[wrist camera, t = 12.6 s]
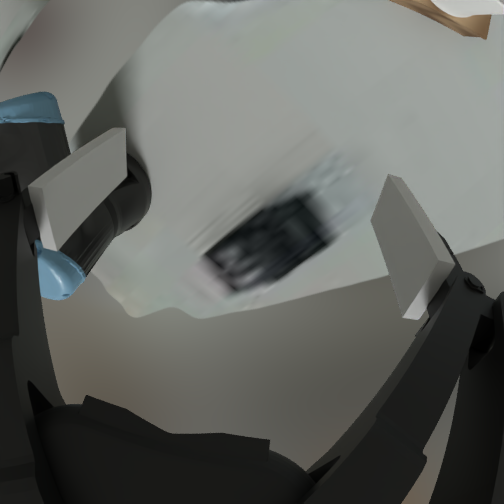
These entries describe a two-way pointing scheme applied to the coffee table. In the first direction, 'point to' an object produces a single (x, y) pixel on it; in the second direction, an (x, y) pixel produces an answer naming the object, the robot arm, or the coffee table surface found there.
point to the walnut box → (450, 18)
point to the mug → (470, 7)
